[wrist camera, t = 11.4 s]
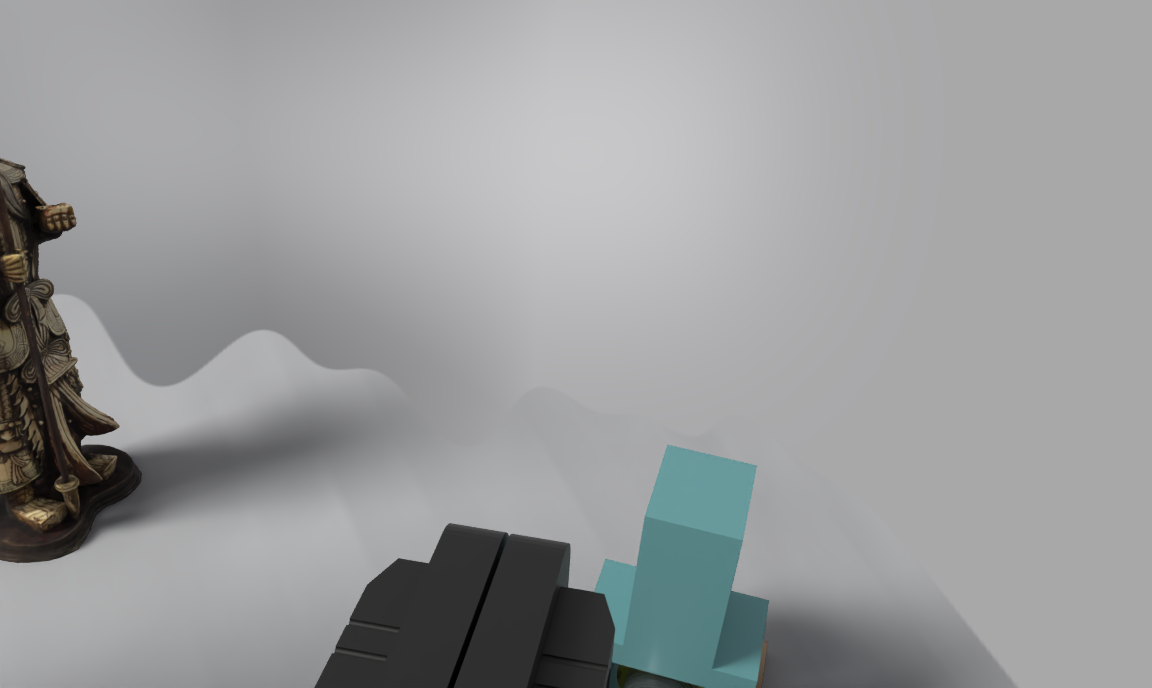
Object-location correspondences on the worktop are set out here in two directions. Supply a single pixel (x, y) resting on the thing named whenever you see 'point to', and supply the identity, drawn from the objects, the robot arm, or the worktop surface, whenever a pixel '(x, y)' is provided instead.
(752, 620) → the sleeve
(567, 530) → the worktop surface
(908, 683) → the worktop surface
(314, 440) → the worktop surface
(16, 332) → the figurine
